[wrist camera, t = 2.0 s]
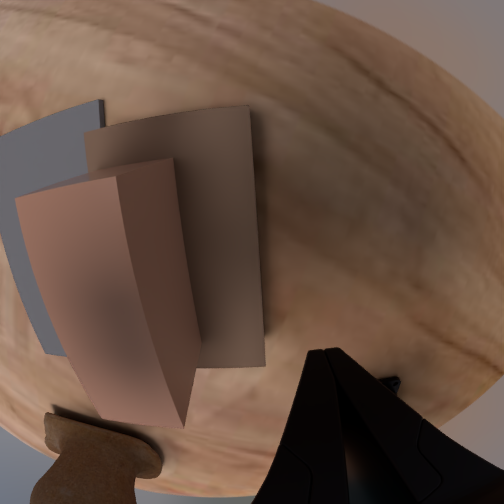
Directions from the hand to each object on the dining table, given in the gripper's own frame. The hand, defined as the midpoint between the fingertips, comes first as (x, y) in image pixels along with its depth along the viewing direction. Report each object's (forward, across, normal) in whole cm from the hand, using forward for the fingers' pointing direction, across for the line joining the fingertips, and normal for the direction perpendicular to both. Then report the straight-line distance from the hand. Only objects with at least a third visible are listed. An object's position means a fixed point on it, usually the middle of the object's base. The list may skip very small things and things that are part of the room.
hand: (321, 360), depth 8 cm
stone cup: (+10, +21, +22) cm, 32 cm away
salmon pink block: (+7, +7, 0) cm, 10 cm away
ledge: (+10, +6, 0) cm, 12 cm away
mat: (+10, +15, 0) cm, 18 cm away
